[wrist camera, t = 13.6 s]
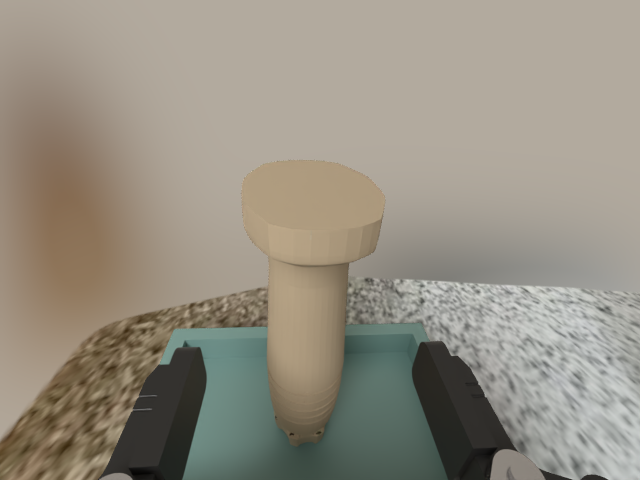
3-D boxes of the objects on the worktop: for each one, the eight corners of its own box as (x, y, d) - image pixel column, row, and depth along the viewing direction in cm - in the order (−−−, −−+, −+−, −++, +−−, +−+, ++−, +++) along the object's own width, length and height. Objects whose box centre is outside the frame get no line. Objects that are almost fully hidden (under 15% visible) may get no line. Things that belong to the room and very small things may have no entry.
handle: (264, 492, 15) (237, 234, 8) (261, 378, 21) (244, 160, 13) (356, 474, 16) (414, 226, 9) (330, 369, 22) (352, 160, 14)
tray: (412, 349, 25) (421, 322, 23) (485, 529, 15) (507, 506, 14) (182, 356, 23) (174, 329, 22) (108, 564, 14) (84, 541, 12)
